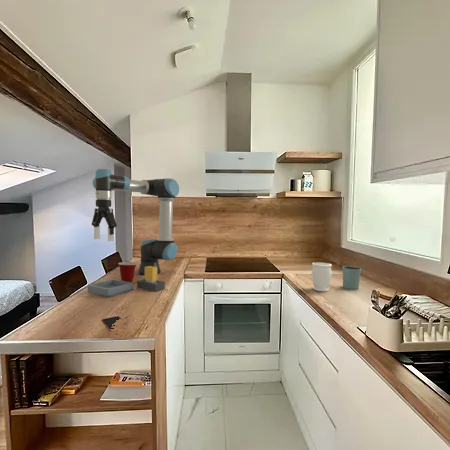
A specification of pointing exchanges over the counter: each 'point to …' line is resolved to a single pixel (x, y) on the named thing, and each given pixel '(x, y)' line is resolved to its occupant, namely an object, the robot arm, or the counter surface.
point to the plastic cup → (127, 271)
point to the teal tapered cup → (351, 277)
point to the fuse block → (151, 285)
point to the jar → (321, 276)
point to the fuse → (150, 274)
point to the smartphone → (110, 321)
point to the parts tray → (110, 288)
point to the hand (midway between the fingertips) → (103, 240)
